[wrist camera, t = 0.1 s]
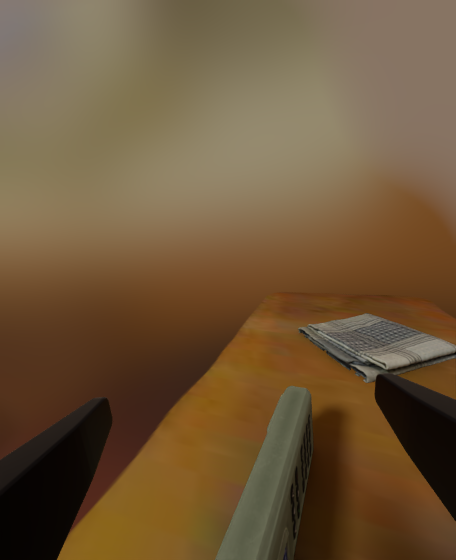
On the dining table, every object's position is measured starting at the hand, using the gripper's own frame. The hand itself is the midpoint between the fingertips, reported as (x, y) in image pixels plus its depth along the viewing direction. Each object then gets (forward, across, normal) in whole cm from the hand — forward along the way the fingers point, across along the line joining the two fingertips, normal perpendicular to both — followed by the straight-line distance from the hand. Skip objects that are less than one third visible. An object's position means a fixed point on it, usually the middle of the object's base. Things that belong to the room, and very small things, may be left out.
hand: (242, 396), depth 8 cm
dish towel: (+31, -24, +17) cm, 43 cm away
